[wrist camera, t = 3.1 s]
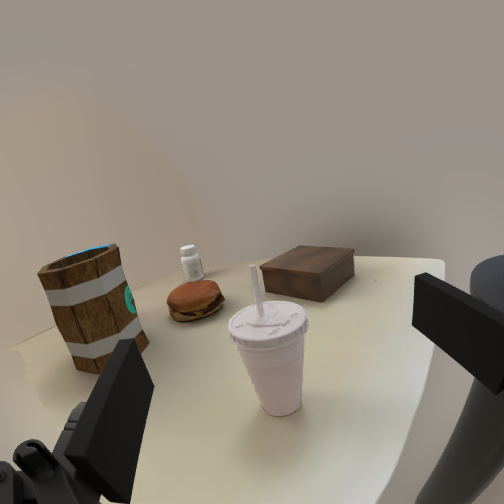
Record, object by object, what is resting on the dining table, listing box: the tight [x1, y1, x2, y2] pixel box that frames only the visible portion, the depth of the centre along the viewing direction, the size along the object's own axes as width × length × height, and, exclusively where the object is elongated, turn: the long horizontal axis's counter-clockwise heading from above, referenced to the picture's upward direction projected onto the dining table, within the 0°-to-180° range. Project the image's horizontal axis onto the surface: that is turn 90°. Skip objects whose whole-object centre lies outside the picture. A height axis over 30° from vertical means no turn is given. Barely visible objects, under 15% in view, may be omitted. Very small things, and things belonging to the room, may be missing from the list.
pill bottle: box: [180, 245, 204, 282], centre depth 65 cm, size 4×4×8 cm
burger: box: [167, 280, 225, 321], centre depth 48 cm, size 10×9×5 cm
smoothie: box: [228, 264, 309, 416], centre depth 23 cm, size 6×6×14 cm
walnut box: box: [259, 246, 355, 302], centre depth 51 cm, size 12×12×5 cm
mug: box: [38, 244, 149, 374], centre depth 40 cm, size 20×14×15 cm
